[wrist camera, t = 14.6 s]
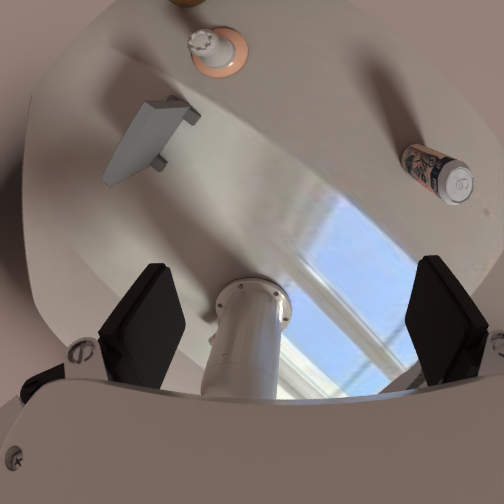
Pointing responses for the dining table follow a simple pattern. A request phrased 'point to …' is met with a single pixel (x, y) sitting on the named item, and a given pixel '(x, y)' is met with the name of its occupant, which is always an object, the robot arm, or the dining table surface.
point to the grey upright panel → (147, 138)
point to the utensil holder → (187, 2)
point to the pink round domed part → (238, 60)
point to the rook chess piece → (212, 48)
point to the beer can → (439, 173)
